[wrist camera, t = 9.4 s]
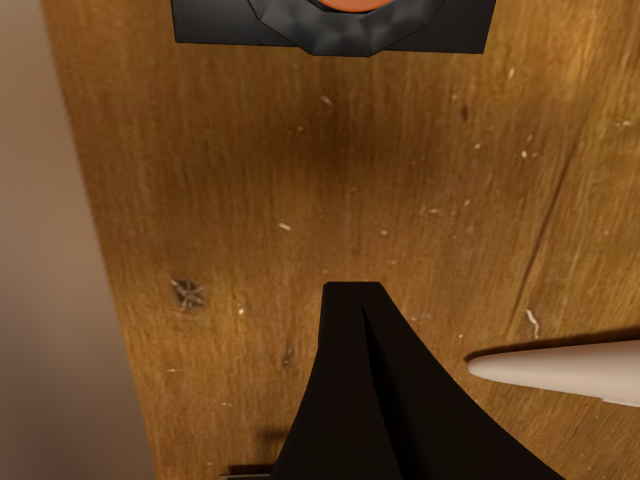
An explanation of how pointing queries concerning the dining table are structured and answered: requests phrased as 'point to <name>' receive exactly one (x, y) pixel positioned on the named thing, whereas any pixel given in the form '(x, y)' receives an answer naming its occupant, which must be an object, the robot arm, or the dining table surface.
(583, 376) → the long cone
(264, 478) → the drawer
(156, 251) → the dining table surface
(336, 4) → the button
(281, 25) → the panel
